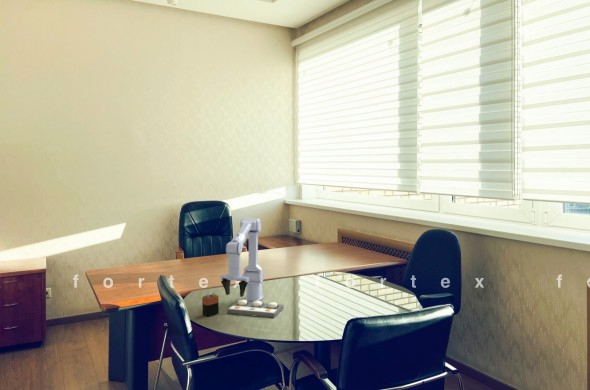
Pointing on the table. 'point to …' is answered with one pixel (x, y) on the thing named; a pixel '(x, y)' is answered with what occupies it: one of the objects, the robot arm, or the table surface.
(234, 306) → the button board
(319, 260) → the table surface
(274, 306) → the button
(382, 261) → the table surface
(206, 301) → the battery
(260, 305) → the button
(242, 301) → the button
